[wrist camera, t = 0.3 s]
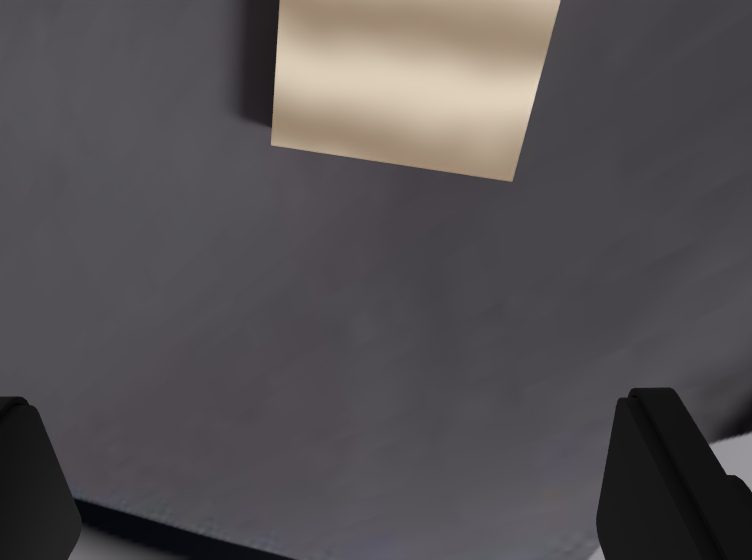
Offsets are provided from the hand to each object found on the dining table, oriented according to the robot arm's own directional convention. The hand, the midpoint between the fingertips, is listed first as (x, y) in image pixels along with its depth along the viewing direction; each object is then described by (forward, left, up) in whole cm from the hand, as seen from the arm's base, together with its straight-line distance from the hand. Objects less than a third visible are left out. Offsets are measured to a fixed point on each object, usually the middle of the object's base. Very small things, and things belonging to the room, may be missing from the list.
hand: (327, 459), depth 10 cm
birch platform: (-4, +1, -30) cm, 30 cm away
